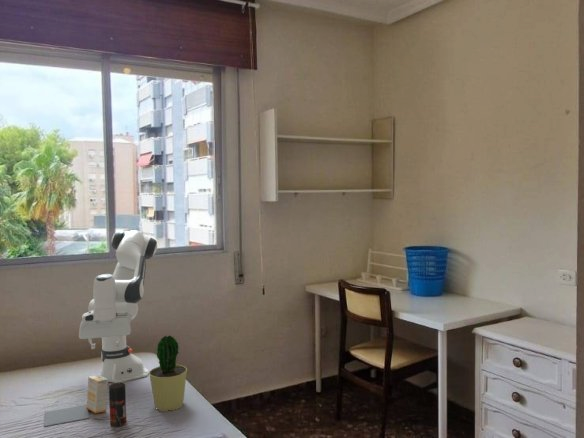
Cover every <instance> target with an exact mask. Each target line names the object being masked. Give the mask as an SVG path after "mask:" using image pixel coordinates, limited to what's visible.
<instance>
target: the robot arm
mask: <svg viewBox="0 0 584 438" xmlns="http://www.w3.org/2000/svg"><path fill="white" fill-rule="evenodd" d="M111 247H112V248H113V250H116V253H115V256H116V257H115V258H116V260H117V263H116V265H115V268H114V271H113V273H112V274H110V273H103V274H99V275H97V276H95V278H94V281H93V288H92V290H93V292H92V295H93V296H92V297H93V299H91V300H90V302H89V304H88V306H87V307H88V309H87V310H88V311H87V312H85V313H83V314H82V315H81V322H80V325H79V330H78V338H79V339H80V340H87V339H88V343H89V345H90V348H91V350H95V349H96V343H93V339H100V338H101V347H102V348H101V352H100V354H101V355H100V357H101V358H100V359H101V361H102V362H101V371H100V376H102V377H104V378H106V379H108V383H112V384H114V383H125V382H129V381H132V380H137V379H141V378H145V377H147V376H148V375H149V369H148V368H147V367H145V366H144V363H143V361H142V360H141V358H140V357H138V356H136V355H135V354H133V349H132V348H131V347H130V346H129V345H127V336H129V335H130V334H131V333H132V330H131V329H132V327H131V322H132V320H133V319H135V318H136V316H137V315H138V312H139V305H138V303H139V302H140V301H141V300H142V299H143V298H144V292H145V291H144V290H145V277H146V267H147V263H146V260H149V259H152V258H153V256H154V255H156V253H157V251H158V241H157V240H156V239H155V238H153V237H149V236H147V235H145V234H143V232H141V231H139V230H137V229H134V230H133V229H132V230H128V231H127V230H125V229H119V230H116V231H115V232H114V234H113V235H112V237H111Z"/></svg>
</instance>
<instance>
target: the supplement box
mask: <svg viewBox="0 0 584 438" xmlns="http://www.w3.org/2000/svg"><path fill="white" fill-rule="evenodd" d="M108 383H109V382H108V379H106V378H104V377H102V376H101V374H97V375H90V376H88V378H87V390H86V392H87V395H86V405H87V407H86V408H87V409H88V411H91V412H92V413H93V414H99V413H103V412H107V399H108V398H107V396H108Z"/></svg>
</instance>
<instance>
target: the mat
mask: <svg viewBox="0 0 584 438" xmlns="http://www.w3.org/2000/svg"><path fill="white" fill-rule="evenodd" d="M86 407H87V404H83V405H82V404H81V405H77V406H71V407H70V406H69V407H65V408H60V409H59V408H58V409H55V410H54V409H53V410H49V411H44V419H43V420H44V421H43V428H47V427H51V426H57V425H63V424H67V423H74V422H78V421H83V420H89V419H90V413H89V409H87V408H86Z"/></svg>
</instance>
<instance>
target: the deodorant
mask: <svg viewBox="0 0 584 438" xmlns="http://www.w3.org/2000/svg"><path fill="white" fill-rule="evenodd" d="M126 394H127V393H126V384H125V382H120V383H112V384H110V385H109V386H108V398H109V399H108V403H109V406H108V407H109V425H110V427H112V428H120V427H123V426H125V425H126V424H127V401H126V397H127V396H126Z"/></svg>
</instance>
